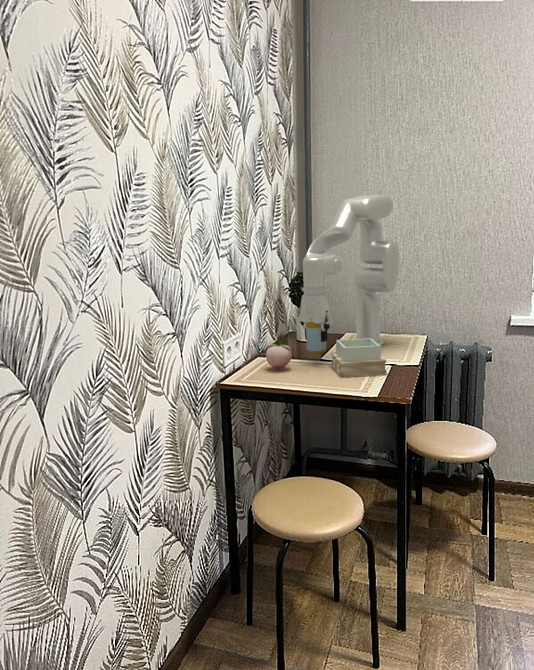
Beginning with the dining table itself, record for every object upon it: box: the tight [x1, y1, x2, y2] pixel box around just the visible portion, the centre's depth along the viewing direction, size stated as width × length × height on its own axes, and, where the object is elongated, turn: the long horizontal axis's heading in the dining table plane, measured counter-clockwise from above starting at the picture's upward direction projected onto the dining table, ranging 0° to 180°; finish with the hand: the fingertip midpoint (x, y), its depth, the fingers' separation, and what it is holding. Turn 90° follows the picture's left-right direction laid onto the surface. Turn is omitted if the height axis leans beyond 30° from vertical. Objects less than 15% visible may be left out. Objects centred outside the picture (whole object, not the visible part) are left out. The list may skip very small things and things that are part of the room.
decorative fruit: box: [265, 341, 292, 370], centre depth 218 cm, size 9×8×10 cm
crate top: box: [335, 338, 382, 362], centre depth 214 cm, size 13×13×5 cm
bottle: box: [306, 313, 327, 355], centre depth 224 cm, size 7×7×15 cm
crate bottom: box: [330, 351, 387, 378], centre depth 215 cm, size 16×16×5 cm
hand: (316, 339), depth 224 cm, fingers closed on bottle, 6 cm apart
